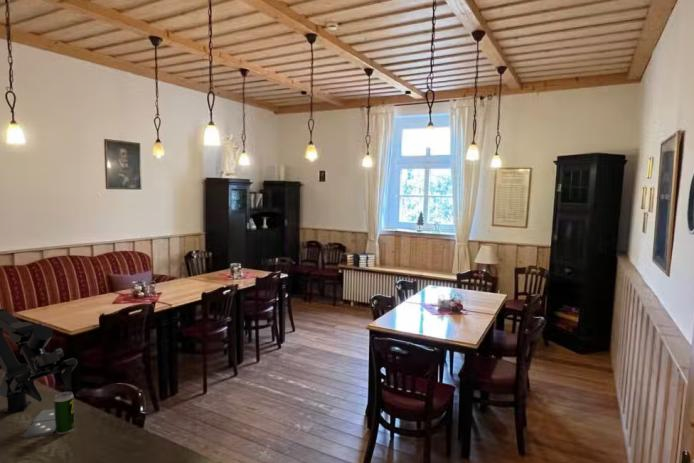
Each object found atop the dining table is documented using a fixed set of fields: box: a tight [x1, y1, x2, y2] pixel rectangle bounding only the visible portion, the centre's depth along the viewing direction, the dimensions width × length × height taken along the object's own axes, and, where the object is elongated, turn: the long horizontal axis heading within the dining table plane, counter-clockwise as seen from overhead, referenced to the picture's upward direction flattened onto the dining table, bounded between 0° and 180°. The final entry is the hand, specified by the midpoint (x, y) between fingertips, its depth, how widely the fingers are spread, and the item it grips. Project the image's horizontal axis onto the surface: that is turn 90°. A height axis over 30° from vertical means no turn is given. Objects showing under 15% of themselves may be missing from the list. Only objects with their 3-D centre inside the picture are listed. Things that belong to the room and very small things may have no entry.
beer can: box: [53, 391, 76, 435], centre depth 139 cm, size 5×5×12 cm
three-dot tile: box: [22, 420, 56, 439], centre depth 140 cm, size 8×8×1 cm
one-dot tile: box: [32, 408, 55, 424], centre depth 148 cm, size 8×8×1 cm
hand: (56, 394), depth 141 cm, fingers open, 9 cm apart
